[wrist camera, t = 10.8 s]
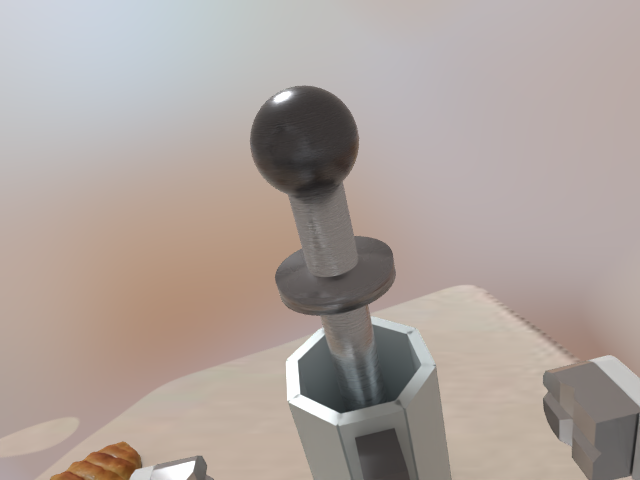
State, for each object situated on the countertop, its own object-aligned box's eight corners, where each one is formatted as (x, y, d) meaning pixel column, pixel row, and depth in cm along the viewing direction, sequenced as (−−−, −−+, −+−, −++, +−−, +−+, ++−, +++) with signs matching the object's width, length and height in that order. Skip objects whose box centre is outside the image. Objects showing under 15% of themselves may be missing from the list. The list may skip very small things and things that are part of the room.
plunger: (348, 544, 26) (213, 113, 16) (335, 458, 32) (229, 97, 21) (445, 520, 26) (375, 74, 16) (415, 439, 32) (349, 67, 21)
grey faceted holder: (345, 637, 24) (287, 483, 19) (324, 469, 34) (282, 335, 28) (493, 601, 24) (476, 437, 19) (429, 443, 34) (407, 305, 28)
